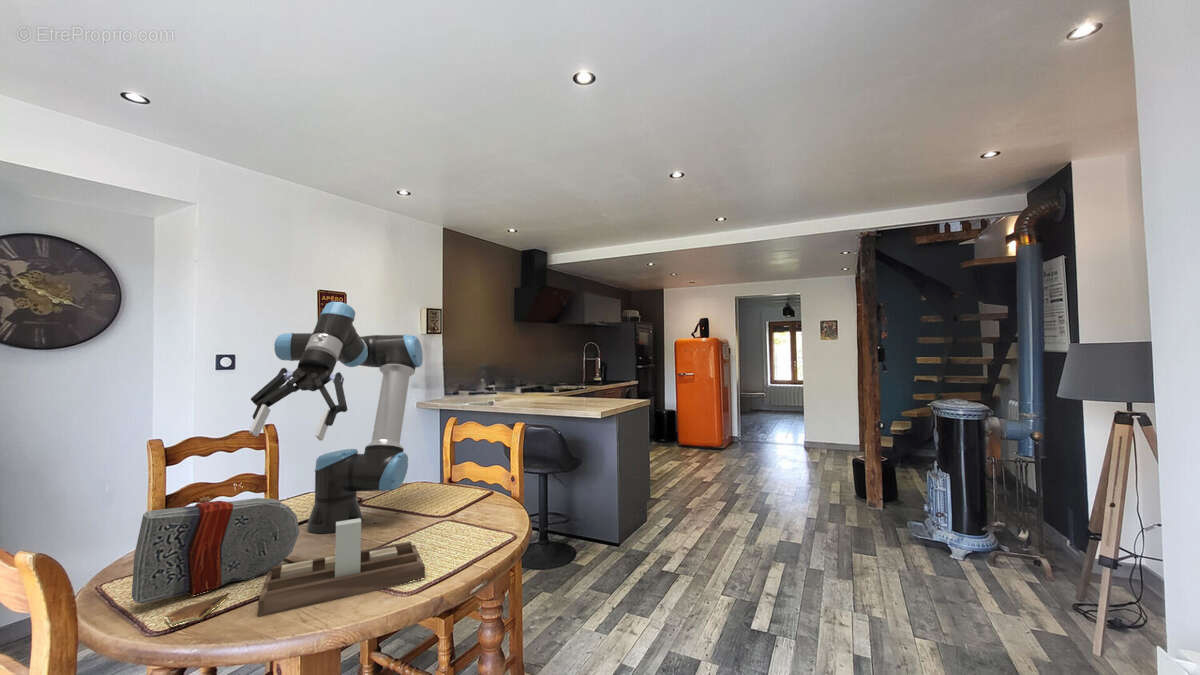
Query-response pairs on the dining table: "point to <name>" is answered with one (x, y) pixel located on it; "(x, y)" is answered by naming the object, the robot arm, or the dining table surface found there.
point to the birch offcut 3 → (382, 553)
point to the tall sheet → (348, 547)
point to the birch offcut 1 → (296, 568)
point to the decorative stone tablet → (209, 546)
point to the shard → (194, 610)
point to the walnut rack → (339, 580)
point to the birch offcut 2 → (329, 562)
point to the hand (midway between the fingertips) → (286, 436)
